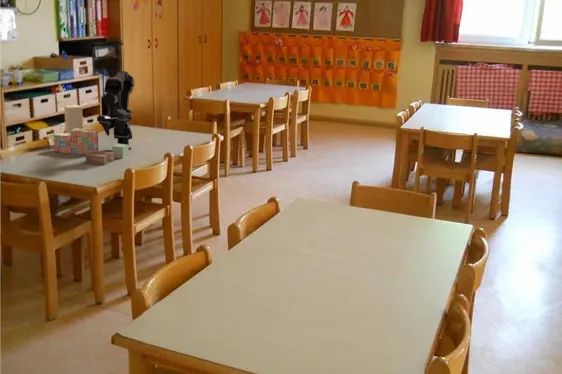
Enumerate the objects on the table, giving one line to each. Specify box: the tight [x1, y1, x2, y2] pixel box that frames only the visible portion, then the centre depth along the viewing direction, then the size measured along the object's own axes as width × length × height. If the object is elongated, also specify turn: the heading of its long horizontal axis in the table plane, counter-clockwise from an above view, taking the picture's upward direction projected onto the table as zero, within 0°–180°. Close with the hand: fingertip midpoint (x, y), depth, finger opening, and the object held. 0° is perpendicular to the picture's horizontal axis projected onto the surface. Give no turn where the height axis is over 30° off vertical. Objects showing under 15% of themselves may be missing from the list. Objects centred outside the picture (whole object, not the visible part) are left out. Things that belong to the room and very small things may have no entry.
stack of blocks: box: [53, 128, 99, 156], centre depth 313 cm, size 21×6×12 cm, turn 85°
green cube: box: [111, 143, 130, 159], centre depth 311 cm, size 6×6×6 cm
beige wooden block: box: [63, 104, 84, 134], centre depth 328 cm, size 8×7×21 cm
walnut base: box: [85, 150, 116, 166], centre depth 300 cm, size 10×10×4 cm
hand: (114, 134), depth 306 cm, fingers open, 9 cm apart
